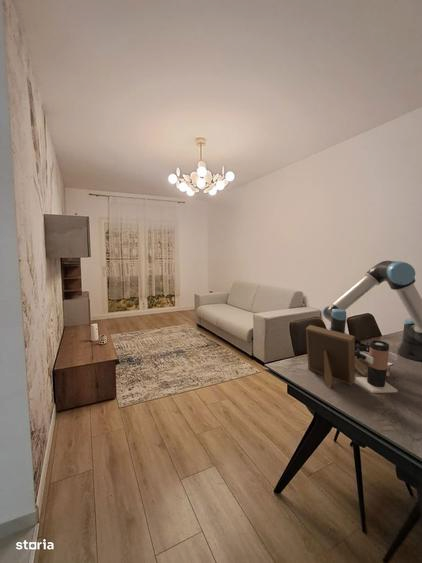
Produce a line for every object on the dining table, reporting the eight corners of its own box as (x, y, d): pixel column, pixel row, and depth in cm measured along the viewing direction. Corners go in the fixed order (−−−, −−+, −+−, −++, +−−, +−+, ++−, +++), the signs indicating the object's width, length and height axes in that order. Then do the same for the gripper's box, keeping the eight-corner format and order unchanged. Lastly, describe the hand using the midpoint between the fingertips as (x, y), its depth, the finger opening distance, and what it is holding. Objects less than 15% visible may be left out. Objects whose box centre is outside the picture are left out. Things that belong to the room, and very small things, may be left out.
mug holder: (371, 364, 144) (372, 356, 144) (389, 376, 132) (390, 366, 131) (349, 364, 144) (350, 356, 143) (364, 376, 131) (365, 367, 130)
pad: (378, 378, 129) (378, 376, 128) (397, 392, 117) (397, 390, 117) (355, 379, 128) (355, 377, 128) (372, 392, 116) (372, 390, 116)
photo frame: (312, 366, 141) (315, 322, 137) (354, 382, 125) (359, 333, 121) (297, 375, 131) (300, 328, 128) (341, 394, 115) (346, 341, 111)
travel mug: (388, 388, 118) (392, 346, 115) (370, 386, 119) (374, 345, 117) (381, 380, 125) (385, 341, 123) (363, 378, 127) (367, 339, 124)
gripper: (368, 347, 141) (405, 364, 121) (329, 351, 135) (361, 370, 115) (369, 334, 140) (407, 349, 120) (330, 337, 134) (362, 354, 114)
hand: (384, 359), depth 117 cm, fingers open, 13 cm apart
